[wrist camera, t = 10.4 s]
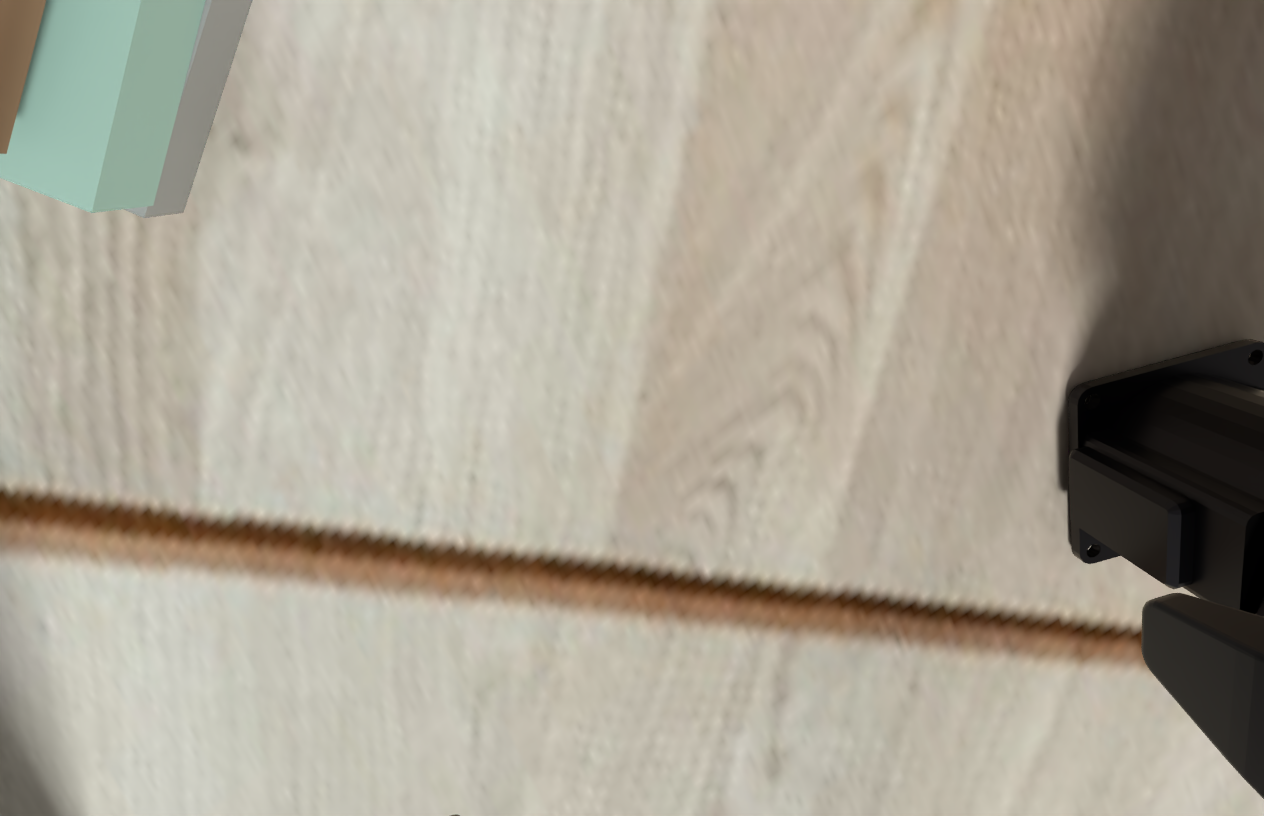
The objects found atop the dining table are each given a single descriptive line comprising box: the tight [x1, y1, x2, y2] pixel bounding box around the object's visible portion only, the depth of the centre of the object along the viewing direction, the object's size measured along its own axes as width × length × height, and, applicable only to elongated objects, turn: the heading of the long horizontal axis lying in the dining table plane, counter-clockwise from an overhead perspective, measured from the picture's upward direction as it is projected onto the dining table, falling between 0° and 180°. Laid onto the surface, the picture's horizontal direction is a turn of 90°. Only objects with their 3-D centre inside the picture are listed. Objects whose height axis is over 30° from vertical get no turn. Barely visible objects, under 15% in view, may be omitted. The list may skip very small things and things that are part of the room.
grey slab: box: [124, 0, 252, 218], centre depth 16 cm, size 6×6×2 cm
